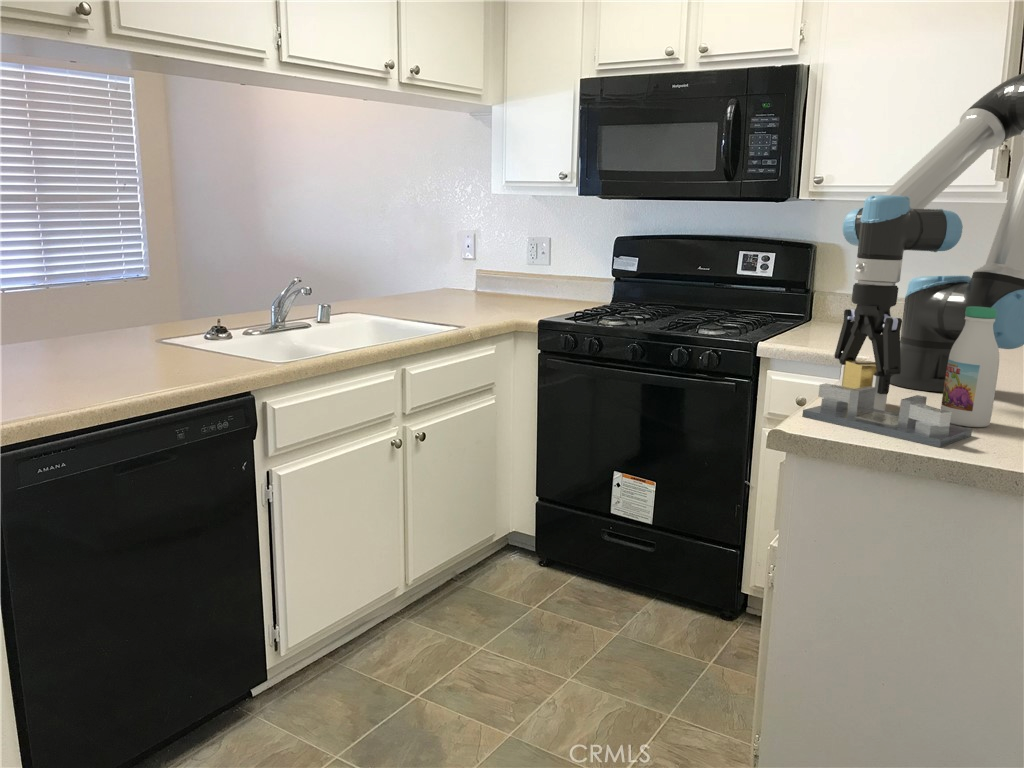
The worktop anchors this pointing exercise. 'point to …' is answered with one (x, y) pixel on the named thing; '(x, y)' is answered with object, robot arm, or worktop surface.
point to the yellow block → (859, 374)
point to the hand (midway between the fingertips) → (860, 404)
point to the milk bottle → (972, 370)
